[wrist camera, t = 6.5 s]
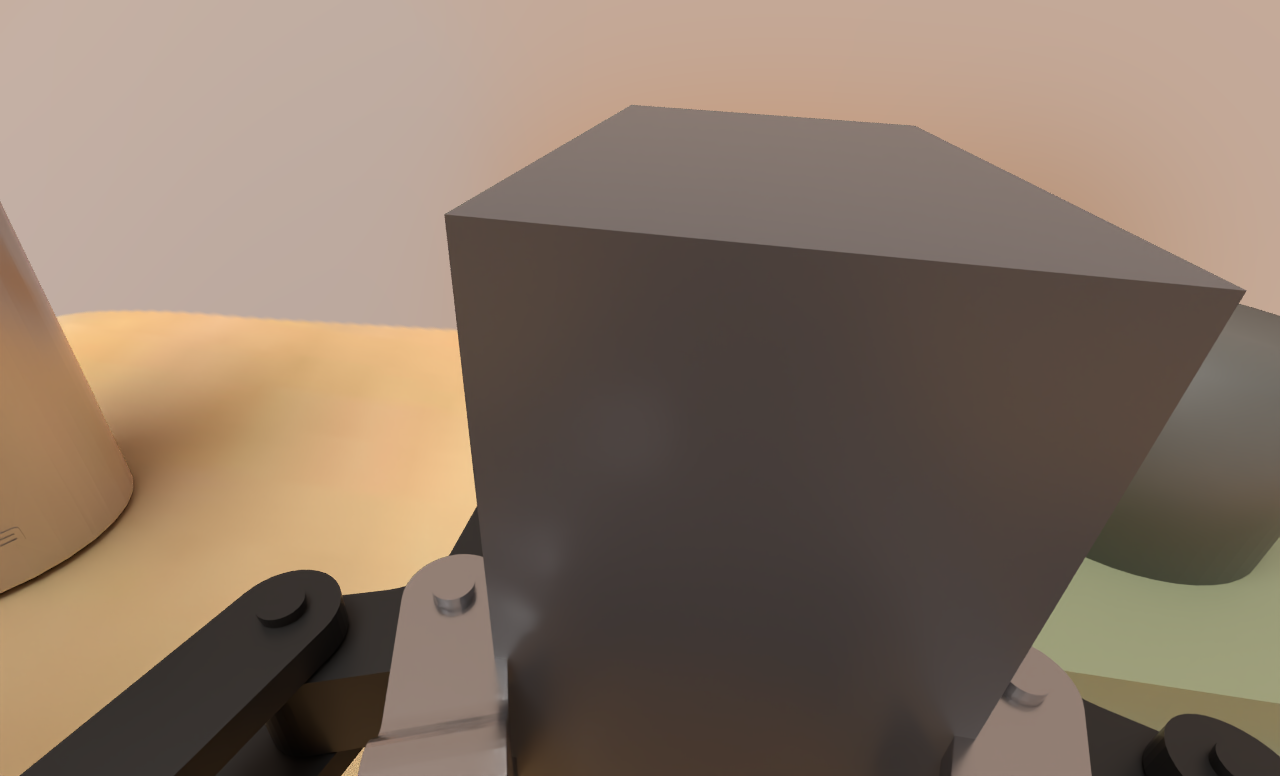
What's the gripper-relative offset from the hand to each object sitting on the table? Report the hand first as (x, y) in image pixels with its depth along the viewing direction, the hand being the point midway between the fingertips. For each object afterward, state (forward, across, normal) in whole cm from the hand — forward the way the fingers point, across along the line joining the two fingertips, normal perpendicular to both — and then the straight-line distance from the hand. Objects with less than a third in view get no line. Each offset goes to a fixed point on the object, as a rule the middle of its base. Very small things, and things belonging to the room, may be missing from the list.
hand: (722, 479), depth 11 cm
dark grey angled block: (-1, 0, +9) cm, 9 cm away
